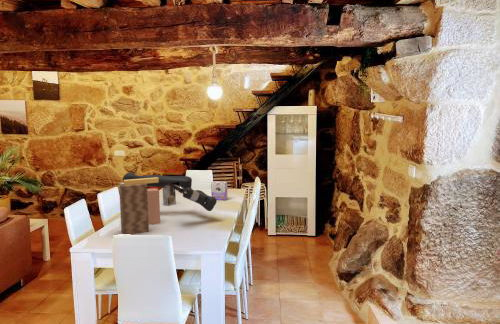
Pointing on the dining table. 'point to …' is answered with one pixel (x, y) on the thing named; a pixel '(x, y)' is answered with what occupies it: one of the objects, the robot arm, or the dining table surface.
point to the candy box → (219, 190)
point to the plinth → (134, 208)
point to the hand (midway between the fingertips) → (170, 185)
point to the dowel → (141, 181)
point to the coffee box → (169, 196)
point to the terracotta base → (153, 206)
